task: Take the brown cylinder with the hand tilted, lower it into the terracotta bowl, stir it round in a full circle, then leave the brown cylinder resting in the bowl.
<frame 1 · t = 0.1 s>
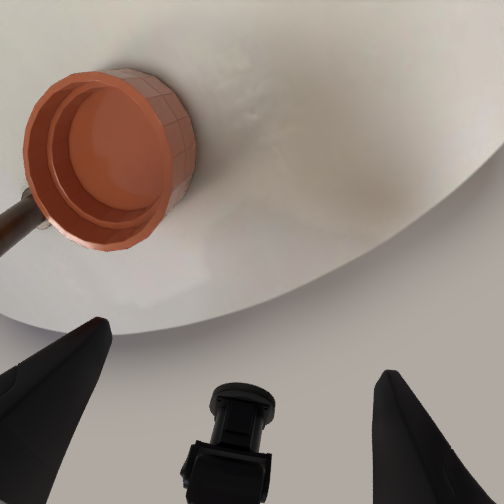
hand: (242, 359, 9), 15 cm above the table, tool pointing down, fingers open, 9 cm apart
bowl: (122, 147, 22), on the table
brown cylinder: (40, 205, 26), on the table
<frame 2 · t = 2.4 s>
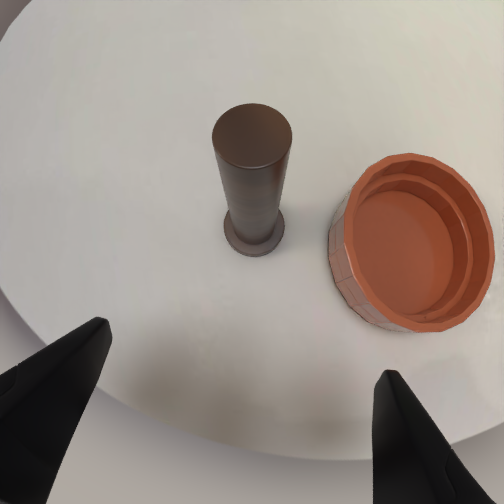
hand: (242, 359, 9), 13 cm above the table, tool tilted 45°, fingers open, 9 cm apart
bowl: (400, 252, 24), on the table
brown cylinder: (254, 227, 24), on the table
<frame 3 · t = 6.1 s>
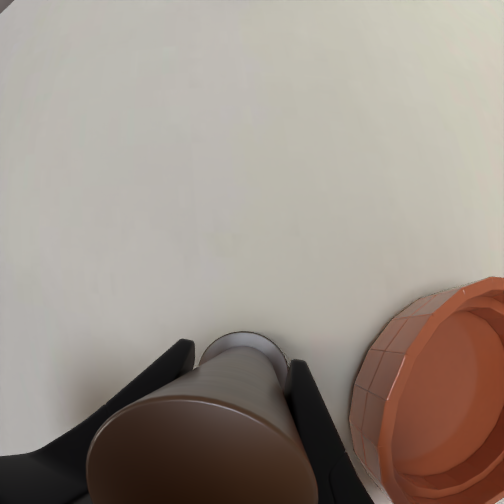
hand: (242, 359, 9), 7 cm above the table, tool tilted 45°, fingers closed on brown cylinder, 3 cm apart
bowl: (444, 395, 15), on the table
brown cylinder: (243, 374, 16), on the table, touching gripper
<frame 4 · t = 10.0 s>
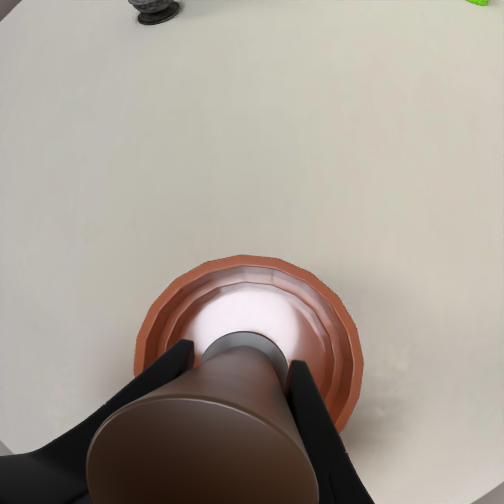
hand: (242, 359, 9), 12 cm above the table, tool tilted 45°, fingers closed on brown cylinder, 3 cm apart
grey chess piece: (159, 14, 30), on the table
bowl: (249, 362, 21), on the table
brown cylinder: (244, 373, 16), point 5 cm above the table, touching gripper
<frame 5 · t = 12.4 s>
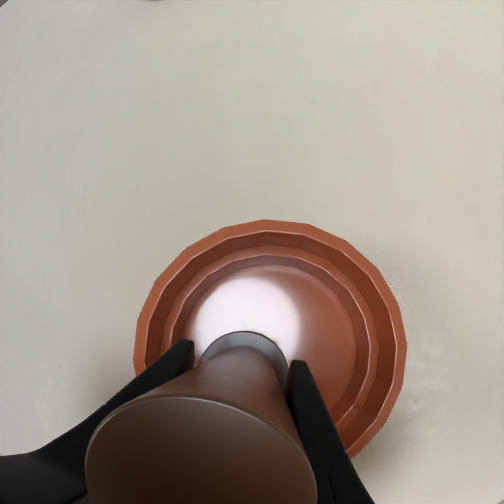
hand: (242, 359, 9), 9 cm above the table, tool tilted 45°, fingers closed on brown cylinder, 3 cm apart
bowl: (269, 351, 18), on the table
brown cylinder: (243, 373, 16), point 2 cm above the table, touching gripper
when the fingers open (7 cm above the table, at t = 14.2 s): brown cylinder stays where it is, resting on bowl.
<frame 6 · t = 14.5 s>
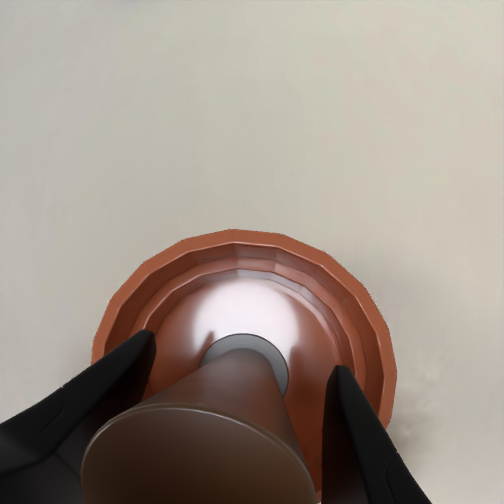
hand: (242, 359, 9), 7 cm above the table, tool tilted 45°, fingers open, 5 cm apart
bowl: (244, 373, 16), on the table
brown cylinder: (243, 376, 15), point 1 cm above the table, touching bowl
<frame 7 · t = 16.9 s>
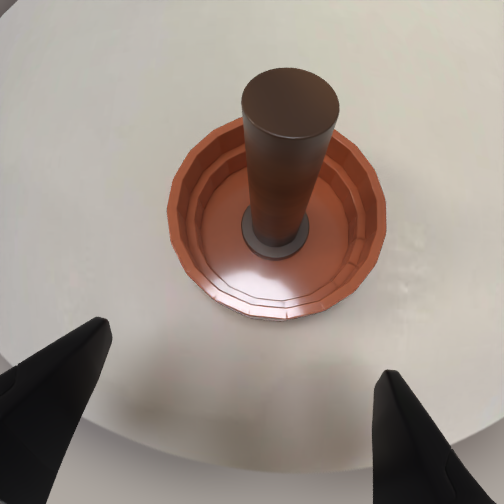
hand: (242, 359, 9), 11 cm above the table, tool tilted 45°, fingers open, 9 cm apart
bowl: (275, 230, 22), on the table
brown cylinder: (275, 228, 22), point 1 cm above the table, touching bowl
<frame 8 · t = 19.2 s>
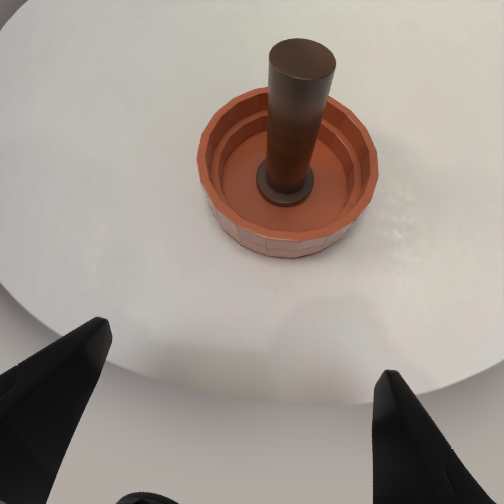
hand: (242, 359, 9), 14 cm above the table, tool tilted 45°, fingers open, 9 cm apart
bowl: (284, 183, 26), on the table
brown cylinder: (284, 181, 25), point 1 cm above the table, touching bowl
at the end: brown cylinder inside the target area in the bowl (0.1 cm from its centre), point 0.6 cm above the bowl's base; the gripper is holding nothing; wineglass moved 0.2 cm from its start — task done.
